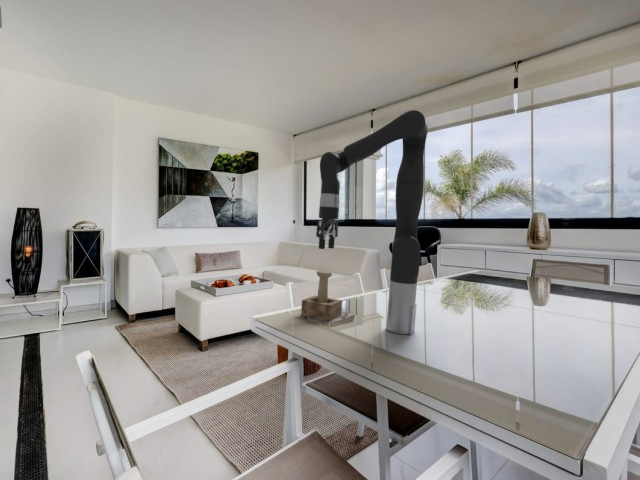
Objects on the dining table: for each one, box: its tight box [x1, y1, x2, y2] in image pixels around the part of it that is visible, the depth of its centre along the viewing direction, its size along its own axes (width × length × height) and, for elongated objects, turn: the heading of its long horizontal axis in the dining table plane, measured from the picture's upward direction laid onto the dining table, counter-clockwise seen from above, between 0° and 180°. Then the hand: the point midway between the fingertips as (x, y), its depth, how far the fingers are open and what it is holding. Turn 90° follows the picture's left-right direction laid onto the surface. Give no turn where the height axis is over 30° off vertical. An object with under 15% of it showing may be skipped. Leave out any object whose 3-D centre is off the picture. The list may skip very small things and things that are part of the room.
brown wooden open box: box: [300, 295, 343, 322], centre depth 129 cm, size 12×11×6 cm
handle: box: [316, 270, 333, 303], centre depth 128 cm, size 5×6×15 cm
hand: (326, 248), depth 128 cm, fingers open, 8 cm apart
